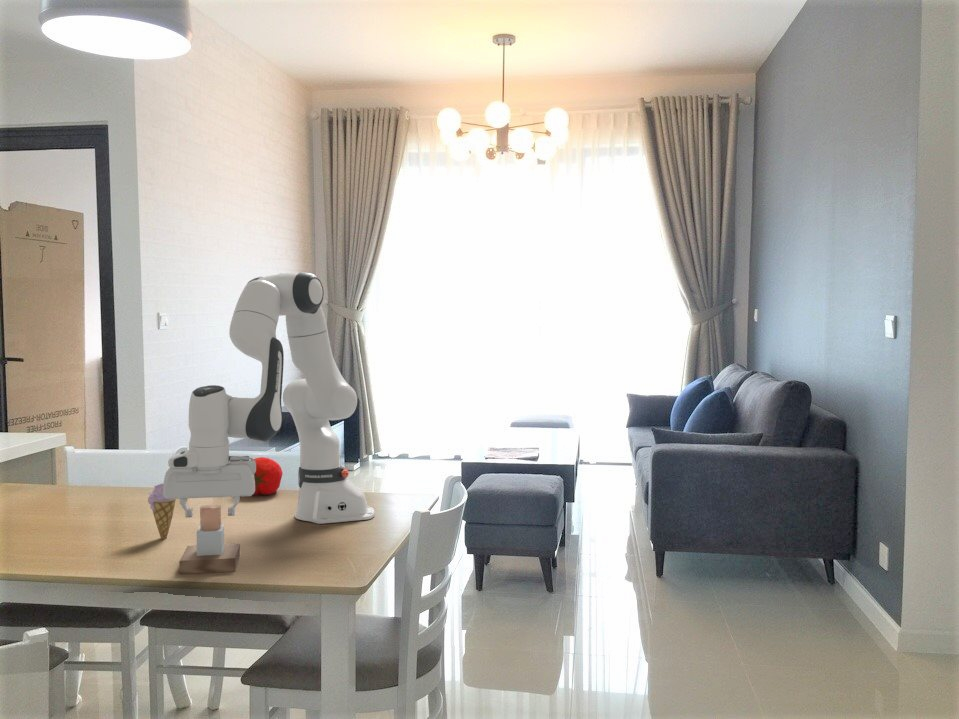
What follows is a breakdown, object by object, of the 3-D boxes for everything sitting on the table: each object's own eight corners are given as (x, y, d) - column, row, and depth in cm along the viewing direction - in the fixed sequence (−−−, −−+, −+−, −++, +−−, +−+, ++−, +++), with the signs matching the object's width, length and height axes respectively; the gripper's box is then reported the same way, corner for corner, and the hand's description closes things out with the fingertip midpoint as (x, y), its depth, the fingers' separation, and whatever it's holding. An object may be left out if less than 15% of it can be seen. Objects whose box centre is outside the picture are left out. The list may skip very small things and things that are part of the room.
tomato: (263, 498, 280) (250, 509, 267) (241, 466, 279) (228, 475, 266) (295, 477, 279) (284, 487, 265) (273, 445, 278) (261, 453, 265)
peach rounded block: (222, 525, 201) (221, 504, 201) (220, 530, 196) (219, 509, 196) (201, 526, 200) (201, 505, 200) (199, 531, 196) (198, 509, 195)
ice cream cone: (159, 543, 216) (158, 484, 215) (143, 539, 219) (142, 481, 218) (181, 537, 222) (180, 479, 221) (165, 533, 225) (164, 477, 224)
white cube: (224, 547, 202) (224, 524, 201) (221, 554, 196) (221, 530, 196) (200, 548, 201) (199, 525, 200) (196, 555, 195) (196, 532, 195)
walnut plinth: (240, 555, 206) (239, 543, 206) (235, 571, 194) (235, 558, 194) (187, 558, 204) (187, 545, 203) (179, 573, 192) (179, 560, 192)
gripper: (256, 453, 202) (257, 511, 203) (165, 455, 198) (167, 514, 199) (254, 458, 196) (255, 517, 197) (160, 460, 192) (162, 521, 193)
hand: (210, 516), depth 198 cm, fingers open, 8 cm apart
